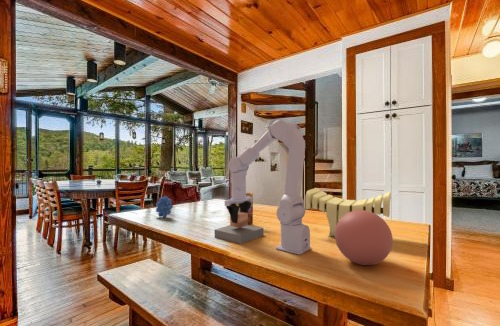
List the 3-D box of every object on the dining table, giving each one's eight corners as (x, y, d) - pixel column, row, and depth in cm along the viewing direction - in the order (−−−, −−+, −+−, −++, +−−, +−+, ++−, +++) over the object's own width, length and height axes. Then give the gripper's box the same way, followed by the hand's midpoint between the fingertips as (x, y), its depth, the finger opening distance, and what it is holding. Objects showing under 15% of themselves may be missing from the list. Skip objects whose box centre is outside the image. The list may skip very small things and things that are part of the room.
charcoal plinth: (263, 235, 103) (263, 227, 103) (240, 244, 92) (240, 235, 92) (238, 229, 112) (237, 222, 112) (214, 237, 101) (214, 229, 101)
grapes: (178, 217, 140) (177, 195, 140) (169, 219, 134) (168, 196, 133) (162, 215, 145) (162, 194, 145) (153, 217, 139) (152, 195, 139)
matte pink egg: (386, 252, 83) (385, 205, 83) (397, 278, 64) (397, 218, 64) (336, 246, 88) (336, 202, 88) (333, 269, 70) (333, 214, 70)
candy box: (237, 227, 115) (237, 194, 115) (232, 226, 119) (232, 193, 119) (253, 225, 120) (253, 192, 120) (248, 223, 124) (248, 192, 124)
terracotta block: (247, 225, 103) (247, 213, 103) (239, 227, 99) (239, 215, 99) (238, 223, 106) (238, 211, 106) (230, 225, 102) (230, 213, 102)
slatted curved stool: (305, 234, 103) (305, 191, 103) (316, 226, 117) (316, 187, 117) (389, 246, 88) (389, 195, 88) (390, 235, 102) (390, 190, 102)
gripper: (243, 185, 110) (243, 216, 110) (218, 188, 99) (219, 223, 99) (255, 186, 106) (256, 219, 106) (232, 189, 95) (232, 226, 95)
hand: (239, 221), depth 102 cm, fingers closed on terracotta block, 5 cm apart
